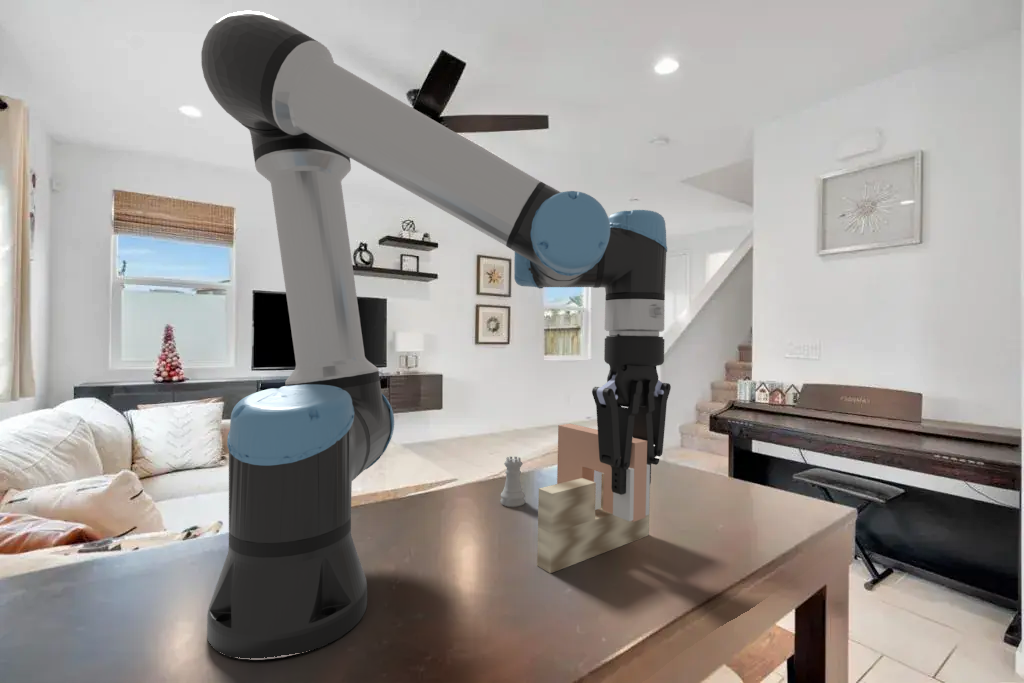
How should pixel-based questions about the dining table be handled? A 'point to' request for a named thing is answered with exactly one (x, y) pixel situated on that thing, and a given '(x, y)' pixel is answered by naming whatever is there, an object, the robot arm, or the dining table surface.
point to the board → (579, 525)
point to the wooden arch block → (599, 464)
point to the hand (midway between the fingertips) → (631, 514)
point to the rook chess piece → (513, 484)
